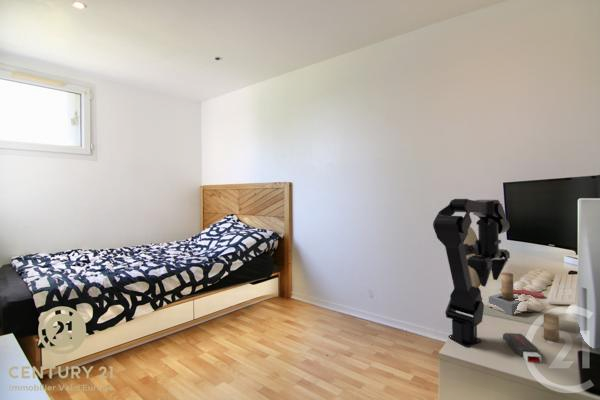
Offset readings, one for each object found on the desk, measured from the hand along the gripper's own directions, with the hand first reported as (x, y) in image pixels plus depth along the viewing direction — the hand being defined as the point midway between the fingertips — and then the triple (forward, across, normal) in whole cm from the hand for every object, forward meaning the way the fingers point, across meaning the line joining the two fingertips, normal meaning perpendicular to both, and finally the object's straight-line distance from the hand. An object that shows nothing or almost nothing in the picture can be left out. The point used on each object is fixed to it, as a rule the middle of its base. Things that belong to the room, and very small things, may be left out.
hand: (489, 282), depth 103 cm
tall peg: (+13, -14, 0) cm, 19 cm away
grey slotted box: (+13, -14, 0) cm, 19 cm away
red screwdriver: (+14, -34, -2) cm, 37 cm away
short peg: (+13, 0, +16) cm, 21 cm away
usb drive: (+14, +12, +13) cm, 23 cm away
